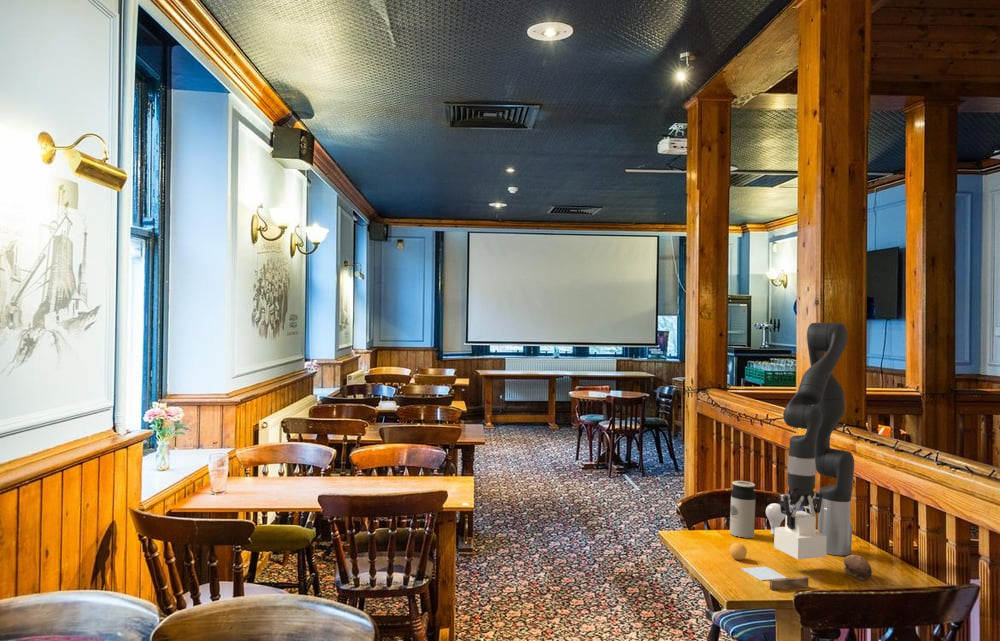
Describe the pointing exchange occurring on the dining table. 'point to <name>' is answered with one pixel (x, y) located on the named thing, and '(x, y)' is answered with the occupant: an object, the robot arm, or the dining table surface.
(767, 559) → the dining table surface
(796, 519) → the stepped white block
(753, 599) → the dining table surface
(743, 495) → the travel mug
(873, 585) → the dining table surface
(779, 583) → the strip
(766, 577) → the beer mat mark
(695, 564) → the dining table surface
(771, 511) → the lightbulb
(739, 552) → the ball
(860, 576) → the brown stone
